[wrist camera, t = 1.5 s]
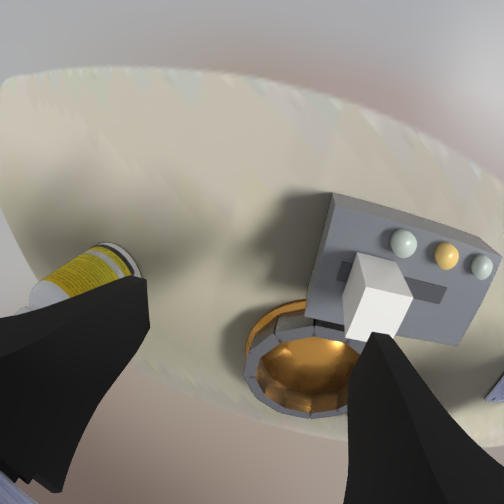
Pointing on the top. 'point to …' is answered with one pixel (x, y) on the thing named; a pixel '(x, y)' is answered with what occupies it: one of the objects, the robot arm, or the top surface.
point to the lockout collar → (300, 363)
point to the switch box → (403, 267)
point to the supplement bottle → (82, 275)
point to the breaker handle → (374, 298)
